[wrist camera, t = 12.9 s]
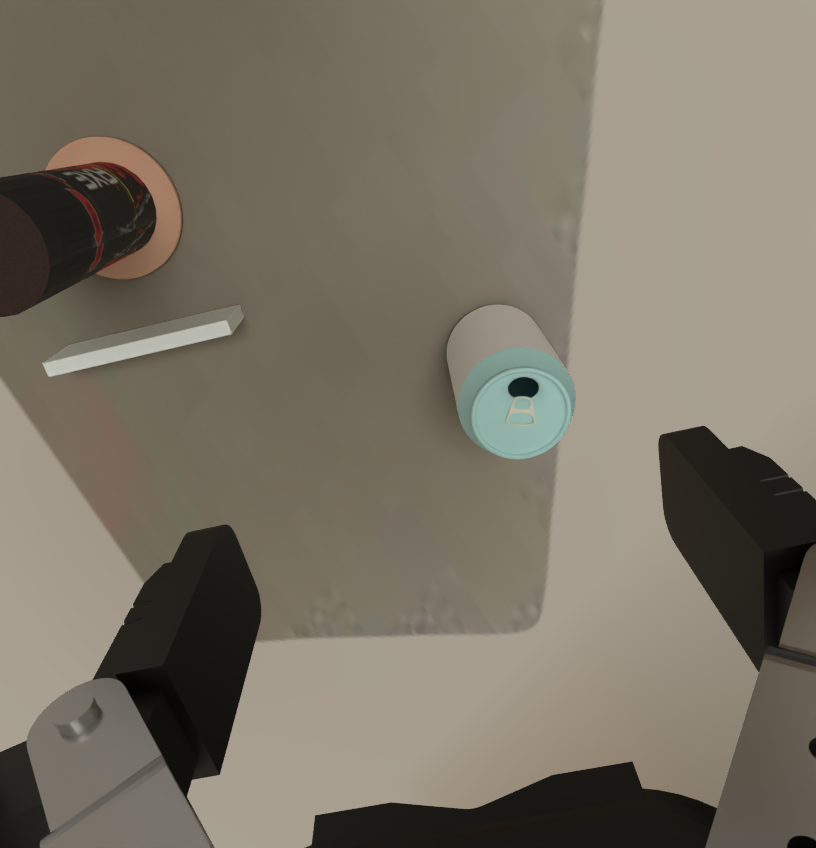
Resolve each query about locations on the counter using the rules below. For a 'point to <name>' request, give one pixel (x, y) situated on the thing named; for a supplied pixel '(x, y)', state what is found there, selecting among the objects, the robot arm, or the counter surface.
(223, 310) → the acrylic wall
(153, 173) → the coaster
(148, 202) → the deodorant
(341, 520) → the counter surface
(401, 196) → the counter surface
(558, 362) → the can
